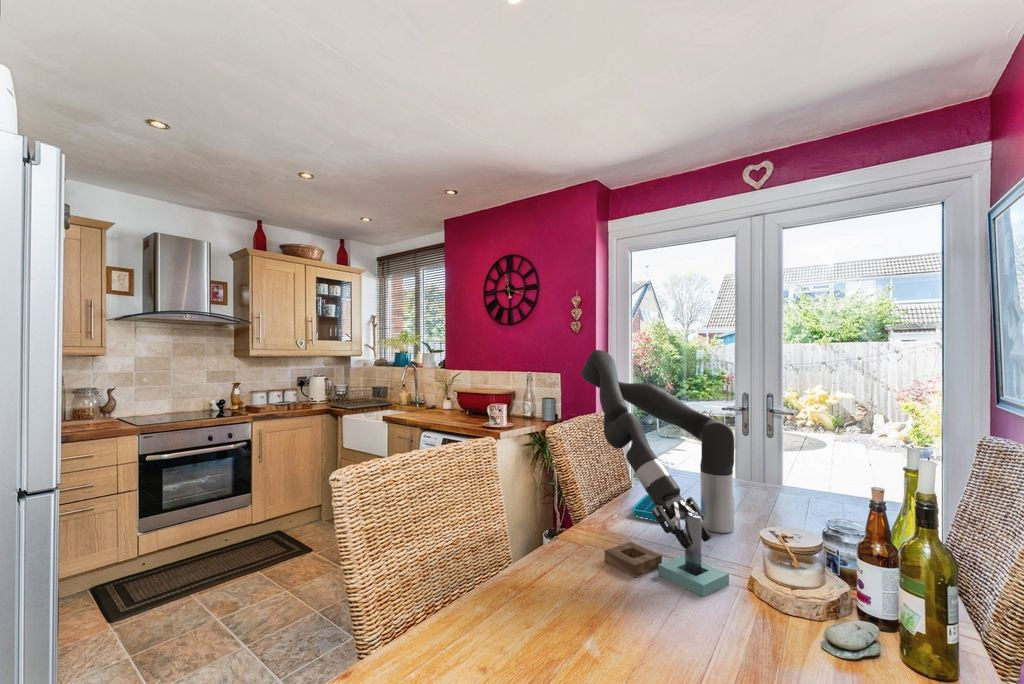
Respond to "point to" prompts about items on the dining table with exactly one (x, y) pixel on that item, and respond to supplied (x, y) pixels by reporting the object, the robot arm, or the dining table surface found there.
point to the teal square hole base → (700, 584)
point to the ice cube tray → (644, 508)
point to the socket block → (633, 559)
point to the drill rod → (693, 543)
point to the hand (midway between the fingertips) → (698, 543)
